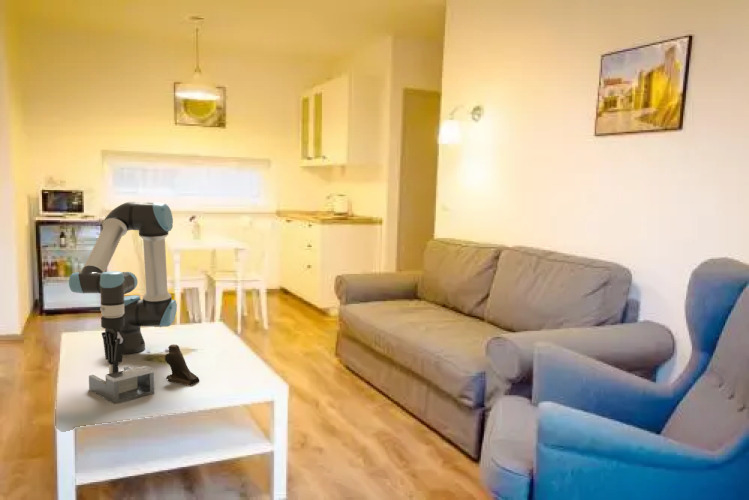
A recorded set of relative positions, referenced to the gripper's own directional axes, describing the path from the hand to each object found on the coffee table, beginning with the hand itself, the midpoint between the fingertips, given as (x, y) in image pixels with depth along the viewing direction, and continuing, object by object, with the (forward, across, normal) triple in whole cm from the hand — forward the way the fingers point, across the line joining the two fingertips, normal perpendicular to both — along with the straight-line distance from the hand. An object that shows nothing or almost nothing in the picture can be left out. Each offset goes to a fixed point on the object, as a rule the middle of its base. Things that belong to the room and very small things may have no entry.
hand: (114, 380), depth 205 cm
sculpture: (+3, +10, +21) cm, 23 cm away
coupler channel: (+3, +6, 0) cm, 7 cm away
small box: (+2, +6, 0) cm, 6 cm away
